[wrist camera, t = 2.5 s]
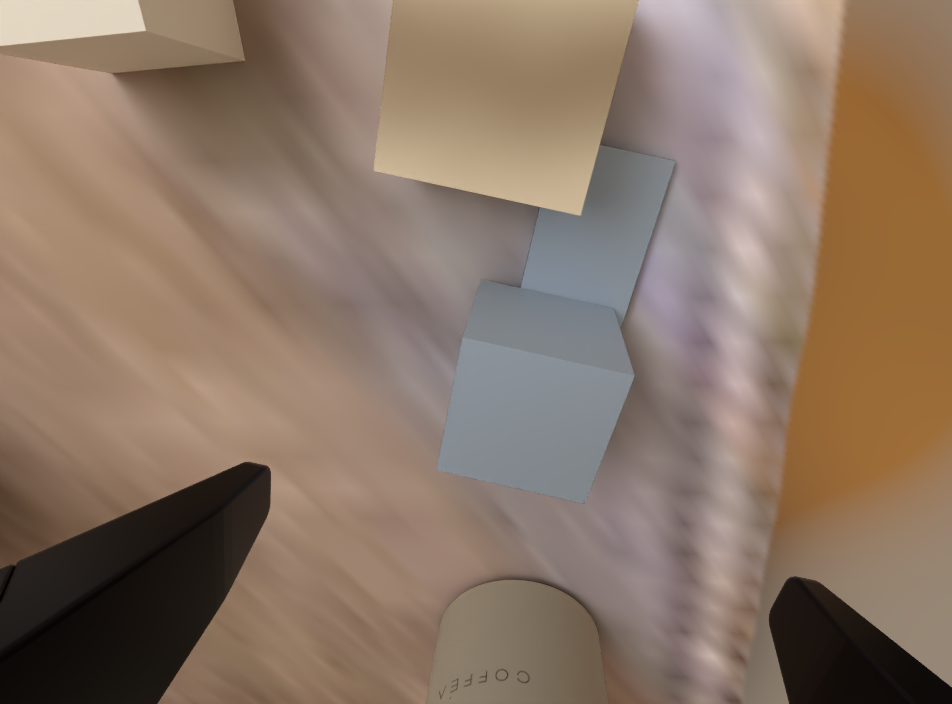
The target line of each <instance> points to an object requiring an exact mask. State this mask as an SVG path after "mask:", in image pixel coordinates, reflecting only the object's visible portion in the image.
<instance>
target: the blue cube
mask: <svg viewBox="0 0 952 704" xmlns="http://www.w3.org/2000/svg"><path fill="white" fill-rule="evenodd" d="M634 377H635V375H634V371H633V368H632V365H631V362H630V359H629V356H628V352H627V349H626V346H625V343H624V340H623V337H622V333H621V330H620V327H619V324H618V321H617V318H616V315H615V311H614V309H613V308H609V307H604V306H600V305H595V304H591V303H586V302H582V301H577V300H573V299H568V298H564V297H559V296H555V295H550V294H546V293H541V292H537V291H532V290H528V289H523V288H519V287H514V286H509V285H505V284H500V283H496V282H491V281H487V280H482V279H481V282H480V285H479V288H478V291H477V294H476V297H475V300H474V303H473V307H472V310H471V313H470V316H469V319H468V322H467V325H466V329H465V332H464V335H463V338H462V343H461V348H460V353H459V358H458V363H457V368H456V374H455V379H454V384H453V389H452V394H451V399H450V404H449V409H448V414H447V419H446V424H445V429H444V434H443V439H442V444H441V449H440V454H439V459H438V464H437V469H436V470H438V471H442V472H447V473H451V474H455V475H460V476H464V477H469V478H473V479H477V480H482V481H486V482H491V483H495V484H499V485H504V486H508V487H513V488H517V489H521V490H526V491H530V492H535V493H539V494H543V495H548V496H552V497H557V498H561V499H565V500H570V501H574V502H579V503H583V504H585V502H586V499H587V497H588V494H589V491H590V489H591V486H592V484H593V481H594V479H595V476H596V474H597V471H598V469H599V466H600V463H601V461H602V458H603V456H604V453H605V451H606V448H607V446H608V443H609V441H610V438H611V435H612V433H613V430H614V428H615V425H616V423H617V420H618V418H619V415H620V413H621V410H622V407H623V405H624V402H625V400H626V397H627V395H628V392H629V390H630V387H631V384H632V382H633V379H634Z"/></svg>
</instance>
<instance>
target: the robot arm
mask: <svg viewBox="0 0 952 704" xmlns="http://www.w3.org/2000/svg"><path fill="white" fill-rule="evenodd" d="M270 495H271V471H270V468H269V467H268V466H266V465H261V464H257V463H252V462H244V463H241V464H239V465H237V466H235V467H232V468H230V469H228V470H225V471H223V472H221V473H219V474H216V475H214V476H212V477H209V478H207V479H205V480H203V481H200V482H198V483H196V484H194V485H191V486H189V487H187V488H184V489H182V490H180V491H178V492H175V493H173V494H171V495H168V496H166V497H164V498H162V499H159V500H157V501H155V502H153V503H150V504H148V505H146V506H143V507H141V508H139V509H137V510H134V511H132V512H130V513H127V514H125V515H123V516H121V517H118V518H116V519H114V520H112V521H109V522H107V523H105V524H102V525H100V526H98V527H96V528H93V529H91V530H89V531H86V532H84V533H82V534H80V535H77V536H75V537H73V538H70V539H68V540H66V541H64V542H61V543H59V544H57V545H54V546H52V547H50V548H48V549H45V550H43V551H41V552H39V553H36V554H34V555H32V556H29V557H27V558H25V559H23V560H20V561H19V562H18V563H17V564H16V566H15V565H13V564H11V565H9V566H6V567H4V568H2V569H0V704H157V703H158V702H159V700H160V699H161V697H162V696H163V694H164V693H165V691H166V690H167V688H168V686H169V685H170V683H171V682H172V680H173V679H174V677H175V676H176V674H177V673H178V671H179V670H180V668H181V666H182V665H183V663H184V662H185V660H186V659H187V657H188V656H189V654H190V653H191V651H192V649H193V648H194V646H195V645H196V643H197V642H198V640H199V639H200V637H201V636H202V634H203V633H204V631H205V629H206V628H207V626H208V625H209V623H210V622H211V620H212V619H213V617H214V616H215V614H216V612H217V611H218V609H219V608H220V606H221V604H222V603H223V601H224V599H225V598H226V596H227V594H228V592H229V590H230V588H231V587H232V585H233V583H234V581H235V579H236V577H237V575H238V573H239V571H240V569H241V567H242V565H243V563H244V561H245V559H246V557H247V555H248V553H249V551H250V549H251V547H252V545H253V543H254V542H255V540H256V538H257V536H258V534H259V532H260V530H261V528H262V526H263V524H264V522H265V520H266V518H267V515H268V512H269V509H270ZM769 625H770V629H771V633H772V637H773V642H774V645H775V649H776V653H777V657H778V661H779V665H780V669H781V673H782V677H783V681H784V685H785V689H786V693H787V697H788V700H789V704H952V687H950V686H949V685H948V684H947V683H945V682H944V681H943V680H942V679H940V678H939V677H938V676H937V675H935V674H934V673H933V672H932V671H930V670H929V669H928V668H927V667H925V666H924V665H923V664H922V663H920V662H919V661H918V660H916V659H915V658H914V657H912V656H911V655H910V654H909V653H908V652H906V651H905V650H904V649H903V648H901V647H900V646H899V645H898V644H896V643H895V642H894V641H893V640H891V639H890V638H889V637H888V636H886V635H885V634H884V633H883V632H881V631H880V630H879V629H877V628H876V627H875V626H874V625H872V624H871V623H870V622H869V621H867V620H866V619H865V618H863V617H862V616H861V615H860V614H859V613H857V612H856V611H855V610H854V609H852V608H851V607H850V606H849V605H847V604H846V603H845V602H843V601H842V600H841V599H840V598H838V597H837V596H836V595H835V594H833V593H832V592H831V591H830V590H828V589H827V588H826V587H824V586H823V585H822V584H821V583H819V582H817V581H815V580H810V579H806V578H801V577H796V576H795V577H790V578H789V579H787V581H786V582H785V584H784V585H783V587H782V589H781V591H780V593H779V595H778V597H777V598H776V600H775V602H774V604H773V606H772V608H771V610H770V614H769Z"/></svg>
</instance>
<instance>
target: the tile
mask: <svg viewBox="0 0 952 704" xmlns="http://www.w3.org/2000/svg"><path fill="white" fill-rule="evenodd" d="M675 162H676V161H673V160H669V159H664V158H659V157H655V156H650V155H645V154H641V153H636V152H631V151H627V150H622V149H618V148H613V147H608V146H604V145H600V146H599V149H598V153H597V157H596V160H595V164H594V168H593V171H592V175H591V179H590V183H589V186H588V190H587V194H586V197H585V201H584V205H583V208H582V212H581V216H579V215H574V214H570V213H565V212H561V211H556V210H552V209H547V208H542V207H540V208H539V212H538V216H537V221H536V225H535V229H534V233H533V237H532V241H531V246H530V250H529V254H528V258H527V262H526V266H525V271H524V275H523V279H522V283H521V287H520V288H523V289H528V290H532V291H537V292H541V293H546V294H550V295H555V296H559V297H564V298H568V299H573V300H577V301H582V302H586V303H591V304H595V305H600V306H604V307H609V308H613V309H614V311H615V315H616V318H617V321H618V324H619V327H620V328H621V326H622V323H623V320H624V317H625V314H626V311H627V308H628V305H629V302H630V299H631V296H632V293H633V290H634V287H635V284H636V281H637V278H638V275H639V272H640V269H641V266H642V262H643V259H644V256H645V253H646V250H647V247H648V244H649V241H650V238H651V235H652V232H653V229H654V226H655V223H656V220H657V217H658V214H659V211H660V208H661V205H662V201H663V198H664V195H665V192H666V189H667V186H668V183H669V180H670V177H671V174H672V171H673V168H674V165H675Z"/></svg>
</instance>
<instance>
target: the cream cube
mask: <svg viewBox="0 0 952 704" xmlns="http://www.w3.org/2000/svg"><path fill="white" fill-rule="evenodd" d="M0 54H3V55H9V56H15V57H21V58H26V59H32V60H38V61H43V62H49V63H55V64H61V65H66V66H72V67H78V68H83V69H89V70H95V71H101V72H106V73H121V72H131V71H142V70H152V69H163V68H174V67H184V66H195V65H205V64H216V63H226V62H237V61H245V57H244V52H243V47H242V42H241V37H240V32H239V27H238V22H237V17H236V12H235V7H234V2H233V0H0Z"/></svg>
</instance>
